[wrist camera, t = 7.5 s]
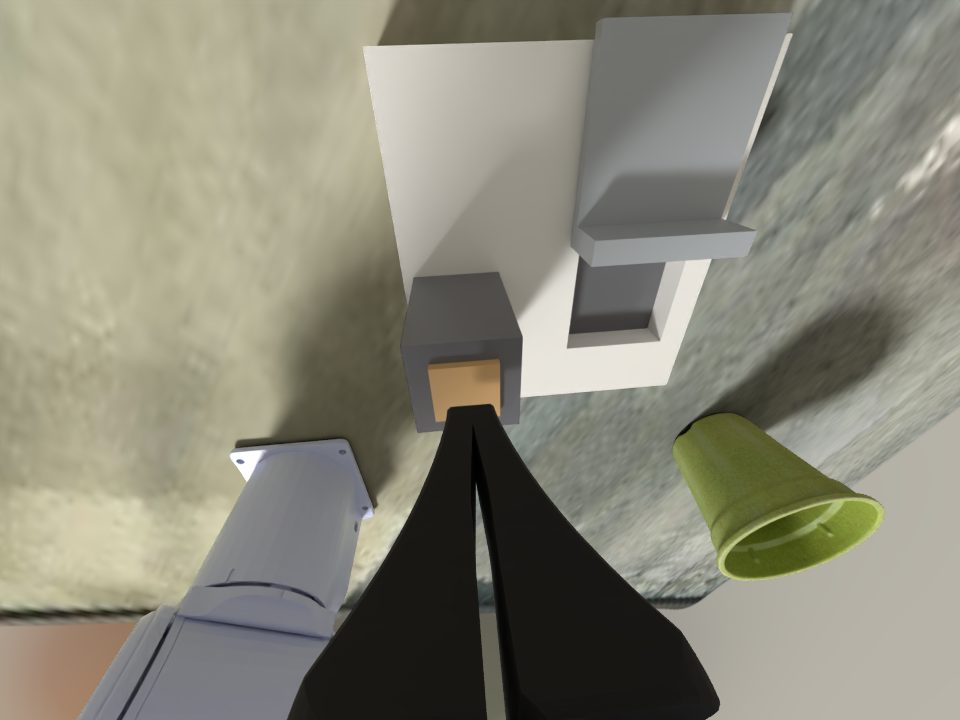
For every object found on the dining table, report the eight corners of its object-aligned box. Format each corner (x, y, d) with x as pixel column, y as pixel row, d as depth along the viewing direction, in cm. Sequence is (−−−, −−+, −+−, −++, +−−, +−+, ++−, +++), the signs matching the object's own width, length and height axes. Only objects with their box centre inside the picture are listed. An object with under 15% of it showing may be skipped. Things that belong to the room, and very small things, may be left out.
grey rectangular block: (498, 343, 18) (520, 429, 13) (424, 349, 18) (417, 438, 13) (498, 271, 16) (524, 341, 11) (413, 277, 16) (399, 351, 11)
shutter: (704, 238, 16) (746, 256, 14) (570, 246, 16) (591, 266, 13) (779, 16, 12) (857, -8, 9) (596, 22, 11) (633, -3, 9)
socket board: (650, 365, 23) (666, 384, 21) (426, 384, 22) (424, 405, 20) (750, 43, 14) (792, 33, 12) (372, 56, 13) (362, 46, 11)
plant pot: (648, 416, 26) (727, 527, 19) (778, 378, 25) (914, 482, 18) (652, 484, 31) (714, 592, 24) (759, 456, 30) (857, 560, 23)
